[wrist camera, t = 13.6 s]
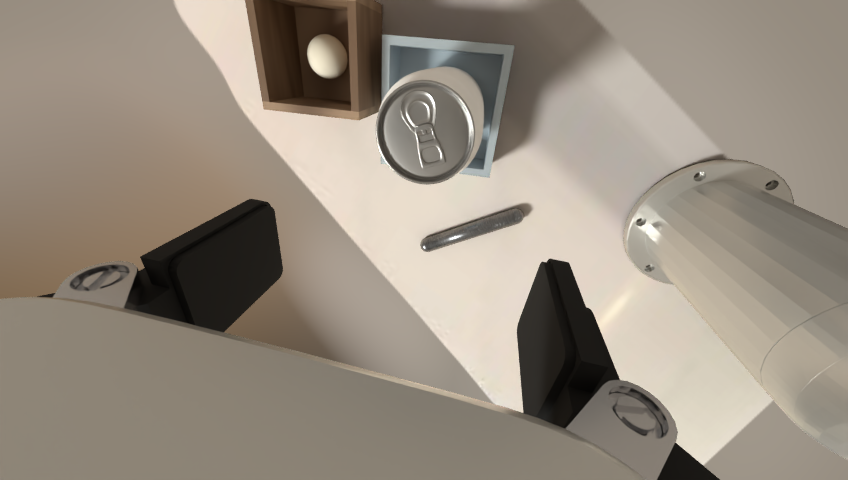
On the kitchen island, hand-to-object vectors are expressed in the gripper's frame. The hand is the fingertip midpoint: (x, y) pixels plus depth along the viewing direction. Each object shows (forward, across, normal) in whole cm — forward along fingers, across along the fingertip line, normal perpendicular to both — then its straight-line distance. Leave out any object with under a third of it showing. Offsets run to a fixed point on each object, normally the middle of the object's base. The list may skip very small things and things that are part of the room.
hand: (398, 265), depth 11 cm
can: (+21, +2, -3) cm, 21 cm away
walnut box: (+21, +12, -6) cm, 25 cm away
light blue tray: (+22, +2, -3) cm, 22 cm away
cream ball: (+21, +12, -6) cm, 24 cm away
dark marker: (+22, -3, +9) cm, 24 cm away
